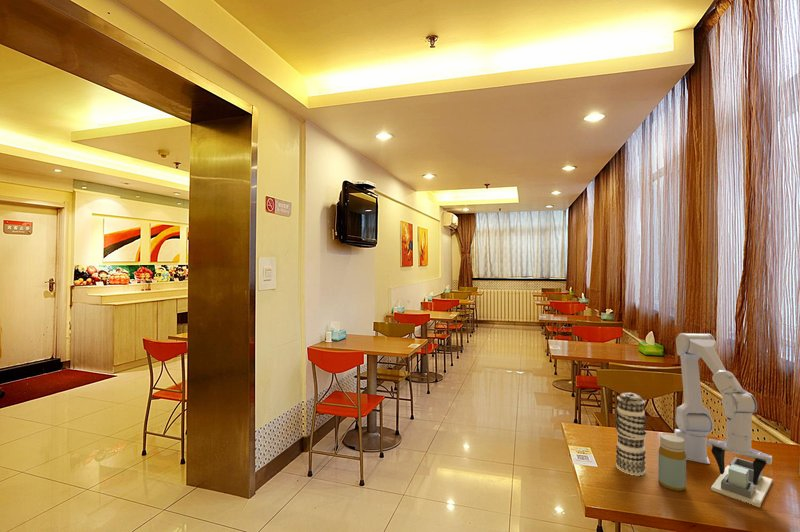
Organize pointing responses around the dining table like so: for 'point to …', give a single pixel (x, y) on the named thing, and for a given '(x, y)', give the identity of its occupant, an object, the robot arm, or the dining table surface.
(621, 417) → the decorative candle
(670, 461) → the bottle
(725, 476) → the board with square sockets
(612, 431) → the dining table surface
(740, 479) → the plug
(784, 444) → the dining table surface
